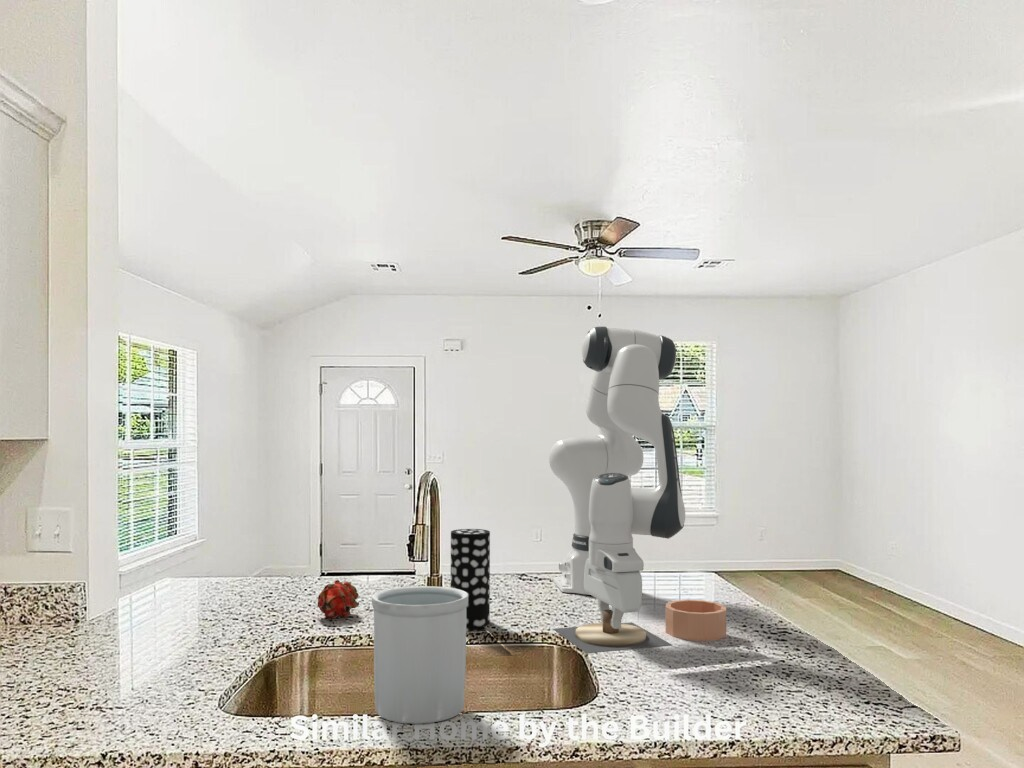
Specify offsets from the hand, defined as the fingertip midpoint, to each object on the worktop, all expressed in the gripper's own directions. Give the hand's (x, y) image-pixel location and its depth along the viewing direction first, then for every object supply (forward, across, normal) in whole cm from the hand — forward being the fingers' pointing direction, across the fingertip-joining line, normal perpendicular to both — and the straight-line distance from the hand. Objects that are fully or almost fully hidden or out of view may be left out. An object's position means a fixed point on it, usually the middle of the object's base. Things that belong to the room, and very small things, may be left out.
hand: (610, 625), depth 170 cm
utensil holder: (+3, +26, -44) cm, 51 cm away
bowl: (+3, +2, +18) cm, 18 cm away
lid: (+2, 0, 0) cm, 2 cm away
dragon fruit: (+3, -35, -50) cm, 61 cm away
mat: (+3, 0, 0) cm, 3 cm away
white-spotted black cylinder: (+3, -19, -24) cm, 31 cm away
